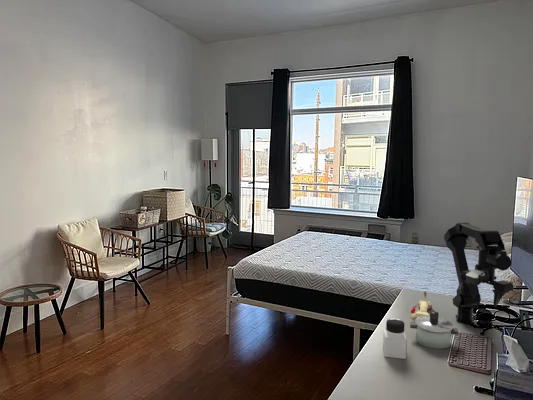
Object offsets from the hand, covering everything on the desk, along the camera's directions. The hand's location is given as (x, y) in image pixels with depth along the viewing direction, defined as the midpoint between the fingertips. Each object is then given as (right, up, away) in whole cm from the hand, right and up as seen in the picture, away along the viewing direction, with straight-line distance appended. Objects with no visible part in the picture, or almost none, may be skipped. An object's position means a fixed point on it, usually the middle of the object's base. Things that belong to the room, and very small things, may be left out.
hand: (484, 302), depth 153 cm
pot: (-21, -14, -4) cm, 26 cm away
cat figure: (-16, -11, +19) cm, 27 cm away
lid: (-21, -8, -5) cm, 23 cm away
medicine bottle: (-39, -15, -13) cm, 44 cm away
